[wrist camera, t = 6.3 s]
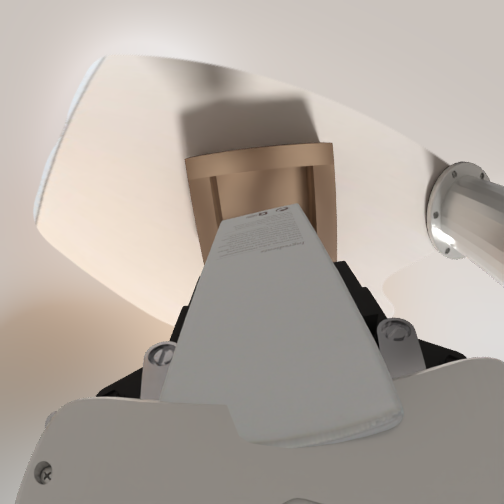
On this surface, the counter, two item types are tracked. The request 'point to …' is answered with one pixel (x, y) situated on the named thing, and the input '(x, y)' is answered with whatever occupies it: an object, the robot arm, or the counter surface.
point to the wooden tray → (264, 187)
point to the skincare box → (280, 339)
